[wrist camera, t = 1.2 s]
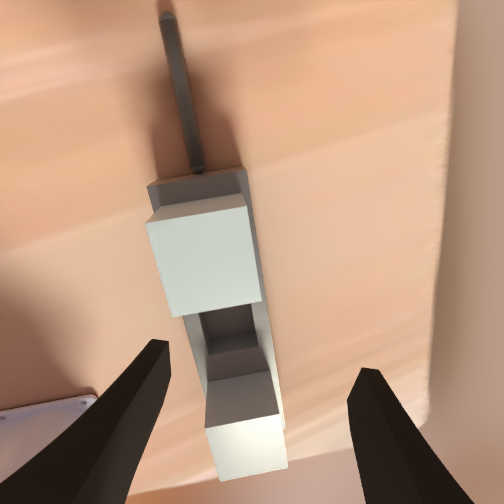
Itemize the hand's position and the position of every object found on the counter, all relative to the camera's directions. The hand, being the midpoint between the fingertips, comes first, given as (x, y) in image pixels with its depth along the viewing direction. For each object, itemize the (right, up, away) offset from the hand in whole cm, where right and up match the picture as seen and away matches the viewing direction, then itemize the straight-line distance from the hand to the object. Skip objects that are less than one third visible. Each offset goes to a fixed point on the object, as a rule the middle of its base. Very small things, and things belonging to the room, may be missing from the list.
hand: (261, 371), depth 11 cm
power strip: (-3, +4, +12) cm, 13 cm away
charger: (-3, +6, +10) cm, 12 cm away
